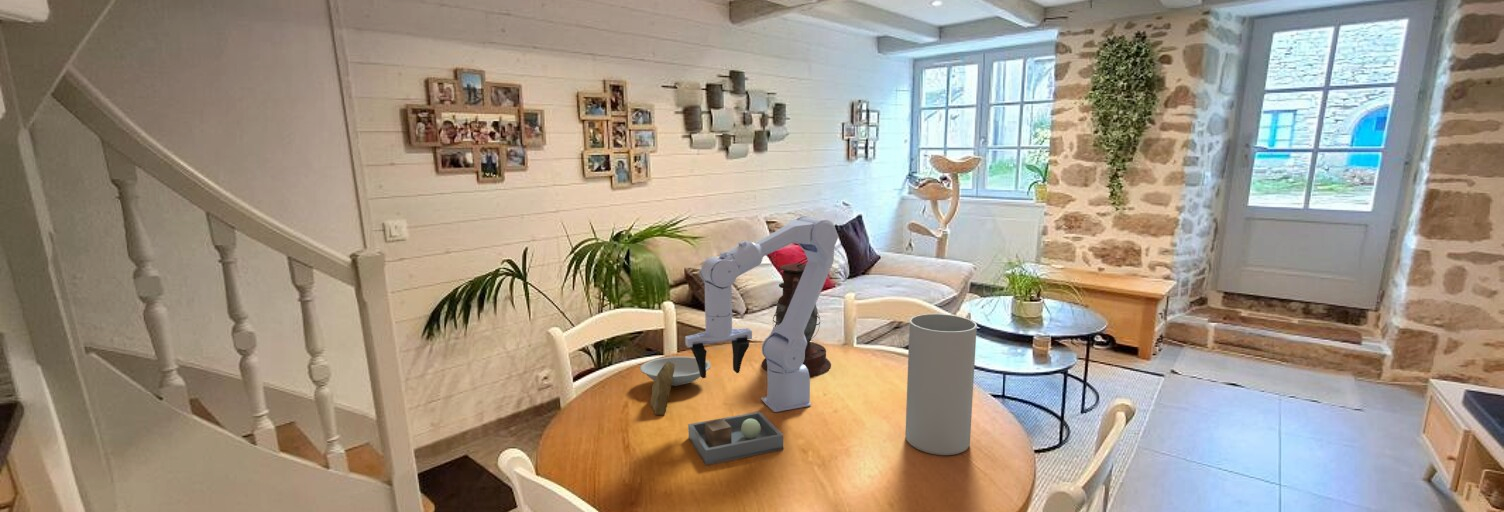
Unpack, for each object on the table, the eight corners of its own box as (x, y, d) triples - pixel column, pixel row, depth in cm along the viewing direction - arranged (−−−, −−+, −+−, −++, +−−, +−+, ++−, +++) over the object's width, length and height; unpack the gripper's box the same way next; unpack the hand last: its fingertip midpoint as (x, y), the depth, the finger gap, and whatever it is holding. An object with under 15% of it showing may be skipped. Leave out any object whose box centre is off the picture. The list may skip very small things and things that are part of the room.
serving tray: (760, 424, 133) (760, 411, 133) (783, 449, 122) (783, 435, 122) (688, 437, 127) (688, 424, 127) (706, 465, 116) (705, 450, 116)
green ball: (752, 430, 129) (752, 413, 128) (764, 438, 126) (764, 420, 125) (737, 436, 126) (737, 418, 125) (749, 444, 123) (749, 426, 122)
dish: (711, 373, 163) (710, 355, 162) (711, 394, 149) (711, 375, 148) (644, 375, 162) (643, 357, 161) (637, 397, 148) (636, 377, 147)
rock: (673, 409, 136) (693, 387, 144) (649, 379, 135) (671, 358, 144) (642, 429, 141) (663, 406, 149) (619, 399, 140) (642, 378, 149)
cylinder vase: (936, 463, 116) (942, 335, 112) (892, 435, 127) (896, 319, 123) (983, 447, 122) (991, 326, 118) (937, 423, 133) (943, 310, 129)
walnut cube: (723, 437, 126) (723, 418, 125) (731, 445, 123) (731, 426, 122) (705, 441, 124) (704, 422, 124) (713, 450, 121) (712, 431, 120)
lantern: (764, 352, 179) (764, 250, 174) (830, 354, 177) (831, 251, 172) (758, 376, 161) (757, 263, 155) (832, 378, 159) (833, 264, 153)
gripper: (743, 305, 138) (744, 363, 140) (680, 312, 133) (682, 372, 135) (755, 313, 132) (755, 373, 134) (689, 321, 126) (691, 383, 129)
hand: (719, 374), depth 134 cm, fingers open, 7 cm apart
